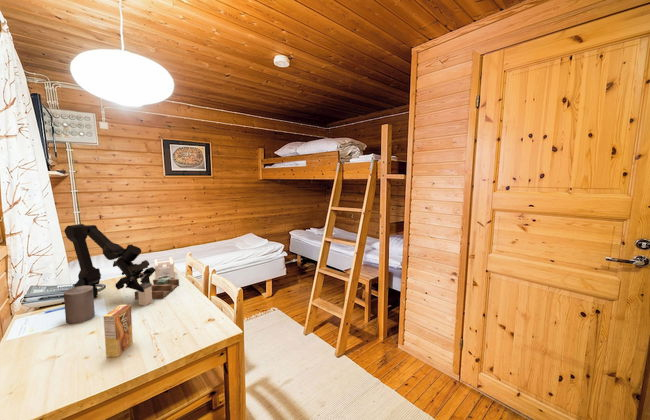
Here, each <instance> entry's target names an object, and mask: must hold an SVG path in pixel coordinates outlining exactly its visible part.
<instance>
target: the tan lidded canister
mask: <svg viewBox="0 0 650 420" xmlns="http://www.w3.org/2000/svg"><path fill="white" fill-rule="evenodd" d="M139 284H140V286H141V287H142V288H143V289H144V292H140V291H138V296H139V299H138V305H140V306H148V305H149V304H151V303H153V299H152V285H153V282H150V283H139Z"/></svg>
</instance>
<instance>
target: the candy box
mask: <svg viewBox="0 0 650 420" xmlns="http://www.w3.org/2000/svg"><path fill="white" fill-rule="evenodd" d="M132 319H133V318H132V305H131V304H119V305H118V306H116V307H115V308H113V309H112V310H110V311H109V312H108V313H106V314H104V315H103V329H104V343H105V356H106V358H116V357H117V358H118V357H119V356H120V355H121V354H122V353H123V352H124V351H125V350H126V349H128V347H129V346H130V345H132V343H133V342H134V341H133V322H132V321H133V320H132Z"/></svg>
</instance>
